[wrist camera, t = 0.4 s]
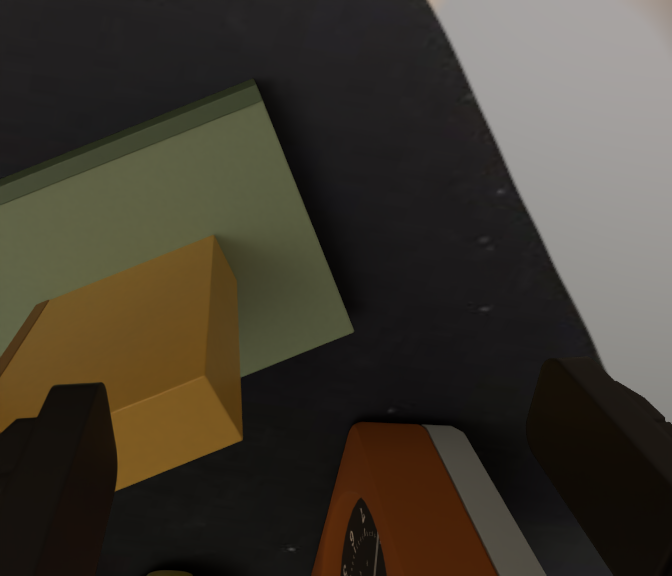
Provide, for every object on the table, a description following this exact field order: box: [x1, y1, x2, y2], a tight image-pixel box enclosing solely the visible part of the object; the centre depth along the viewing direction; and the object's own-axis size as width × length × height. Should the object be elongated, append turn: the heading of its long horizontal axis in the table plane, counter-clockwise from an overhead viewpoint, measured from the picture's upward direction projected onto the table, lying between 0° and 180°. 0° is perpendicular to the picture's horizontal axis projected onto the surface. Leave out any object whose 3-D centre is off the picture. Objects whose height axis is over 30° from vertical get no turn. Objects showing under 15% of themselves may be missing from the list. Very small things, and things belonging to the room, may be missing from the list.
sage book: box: [0, 79, 354, 378], centre depth 31 cm, size 15×20×3 cm
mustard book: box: [0, 235, 243, 491], centre depth 24 cm, size 3×10×13 cm, turn 109°
